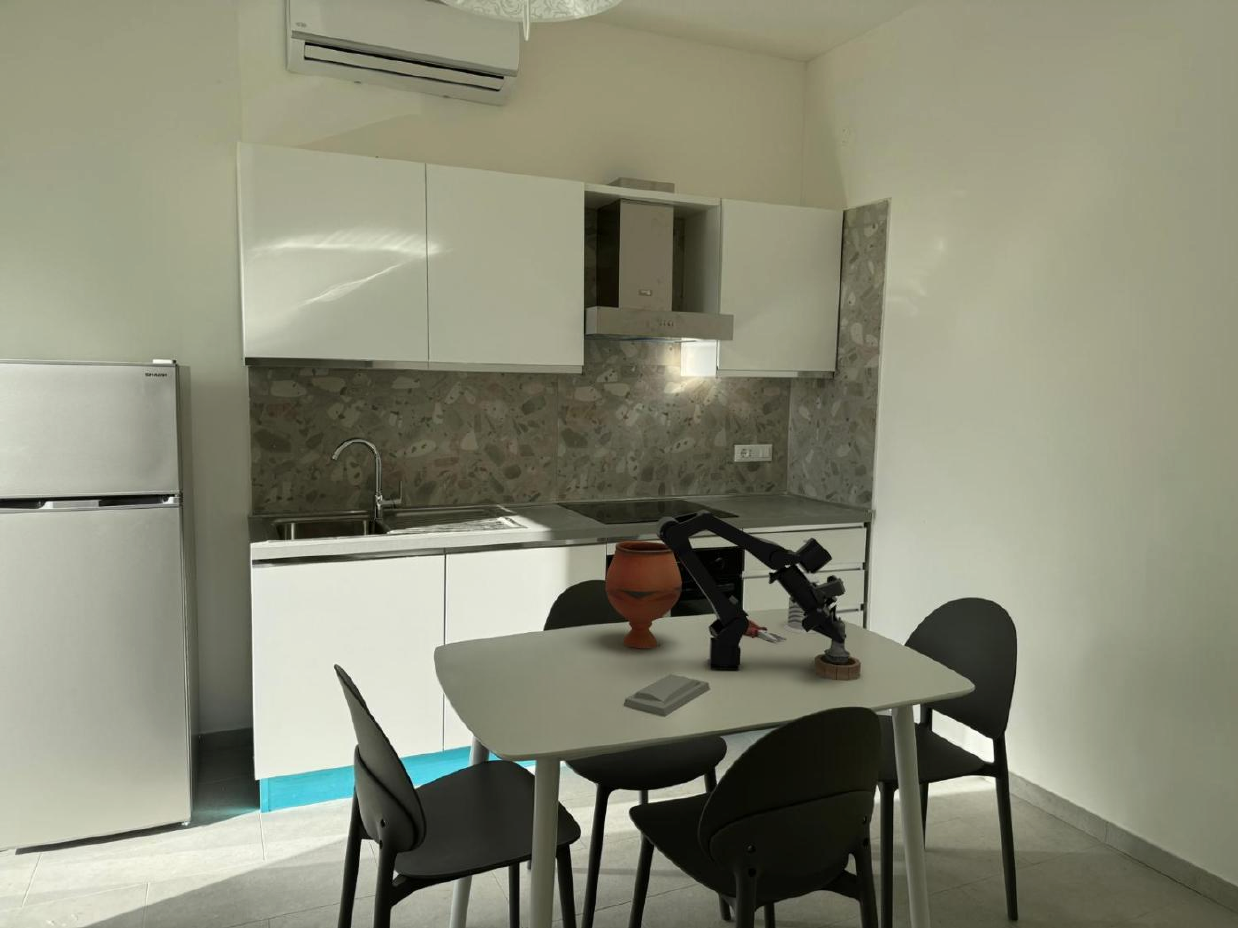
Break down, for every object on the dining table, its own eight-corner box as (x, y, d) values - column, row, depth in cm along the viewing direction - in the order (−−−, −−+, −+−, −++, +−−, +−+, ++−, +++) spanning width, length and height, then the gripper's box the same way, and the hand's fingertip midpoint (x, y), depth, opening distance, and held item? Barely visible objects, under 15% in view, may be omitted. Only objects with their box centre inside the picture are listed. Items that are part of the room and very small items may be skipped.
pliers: (767, 648, 226) (768, 638, 226) (710, 630, 241) (710, 621, 241) (796, 641, 233) (797, 631, 233) (738, 624, 249) (739, 615, 248)
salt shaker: (818, 666, 207) (821, 615, 206) (832, 662, 211) (835, 612, 210) (840, 673, 203) (844, 621, 202) (854, 668, 207) (857, 617, 206)
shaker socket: (819, 679, 202) (820, 666, 202) (810, 665, 212) (811, 652, 212) (864, 680, 202) (865, 667, 202) (853, 666, 212) (853, 654, 212)
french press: (799, 621, 251) (804, 533, 249) (833, 631, 242) (838, 540, 240) (776, 627, 245) (780, 536, 243) (810, 637, 236) (815, 543, 234)
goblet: (669, 659, 213) (674, 555, 211) (592, 649, 218) (595, 548, 216) (686, 637, 231) (690, 542, 229) (614, 629, 236) (617, 536, 234)
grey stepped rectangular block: (710, 691, 193) (711, 675, 192) (665, 719, 176) (666, 702, 175) (669, 682, 198) (669, 666, 198) (621, 708, 181) (621, 691, 181)
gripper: (820, 573, 197) (868, 629, 195) (830, 559, 215) (874, 610, 212) (782, 603, 201) (828, 659, 198) (795, 587, 218) (838, 638, 215)
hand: (844, 640), depth 206 cm, fingers closed on salt shaker, 4 cm apart
